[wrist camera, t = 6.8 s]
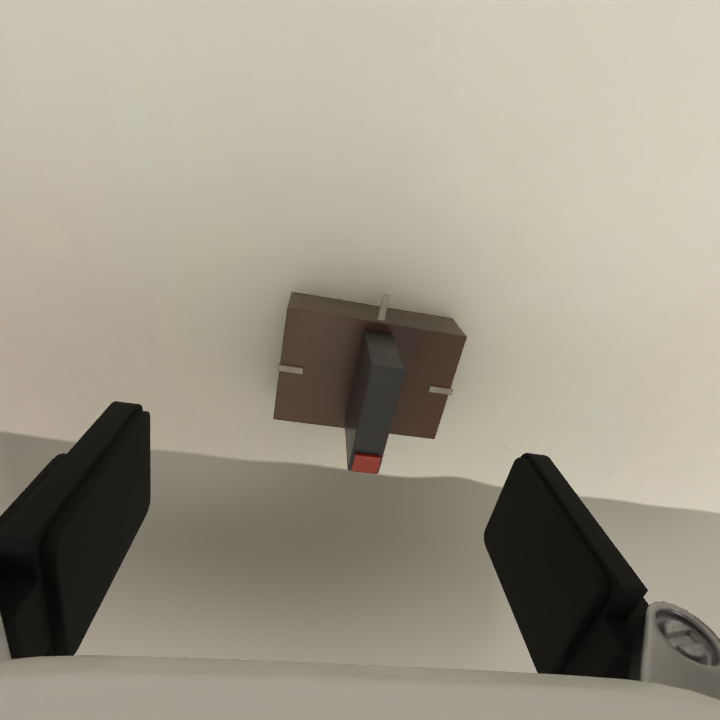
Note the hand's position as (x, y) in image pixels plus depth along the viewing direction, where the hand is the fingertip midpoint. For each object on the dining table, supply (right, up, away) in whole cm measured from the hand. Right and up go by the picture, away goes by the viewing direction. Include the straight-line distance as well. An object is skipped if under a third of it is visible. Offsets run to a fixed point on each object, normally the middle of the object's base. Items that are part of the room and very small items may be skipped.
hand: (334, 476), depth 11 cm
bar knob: (+1, +2, +14) cm, 14 cm away
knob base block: (+1, +3, +16) cm, 17 cm away
